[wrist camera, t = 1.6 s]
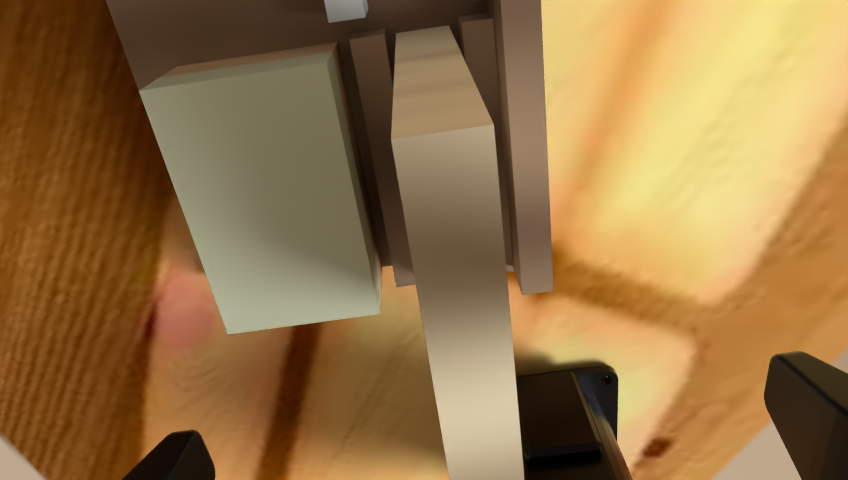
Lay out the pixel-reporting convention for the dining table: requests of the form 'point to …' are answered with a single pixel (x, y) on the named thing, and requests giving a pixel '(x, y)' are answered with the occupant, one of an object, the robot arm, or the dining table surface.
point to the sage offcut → (269, 190)
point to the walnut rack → (384, 90)
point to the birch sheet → (457, 252)
